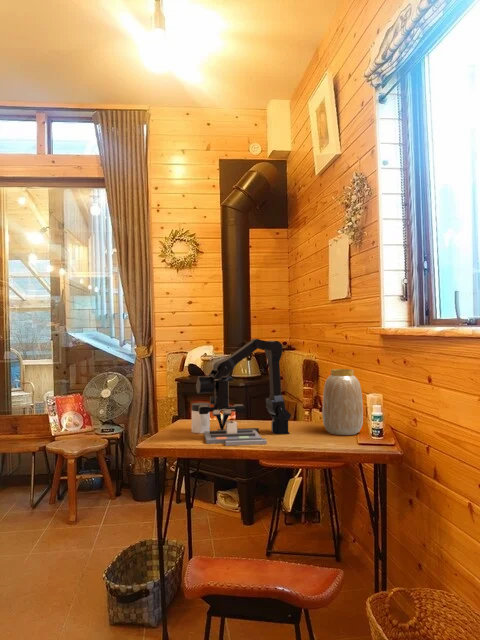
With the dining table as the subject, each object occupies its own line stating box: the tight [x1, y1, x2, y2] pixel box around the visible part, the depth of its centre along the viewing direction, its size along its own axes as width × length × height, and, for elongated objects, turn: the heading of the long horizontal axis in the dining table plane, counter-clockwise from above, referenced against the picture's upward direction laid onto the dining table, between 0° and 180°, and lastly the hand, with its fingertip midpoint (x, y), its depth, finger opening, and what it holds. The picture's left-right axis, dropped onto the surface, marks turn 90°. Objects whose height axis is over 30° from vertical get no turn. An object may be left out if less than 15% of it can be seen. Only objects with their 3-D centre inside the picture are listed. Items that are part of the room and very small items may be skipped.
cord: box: [216, 427, 260, 433], centre depth 196 cm, size 18×1×1 cm, turn 98°
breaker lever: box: [225, 420, 238, 434], centre depth 185 cm, size 4×4×5 cm
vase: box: [322, 368, 364, 436], centre depth 196 cm, size 17×17×27 cm
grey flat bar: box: [224, 438, 268, 447], centre depth 175 cm, size 16×3×1 cm, turn 98°
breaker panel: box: [203, 429, 263, 445], centre depth 185 cm, size 22×16×2 cm
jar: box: [191, 402, 211, 434], centre depth 198 cm, size 9×8×12 cm
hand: (221, 430), depth 184 cm, fingers closed
